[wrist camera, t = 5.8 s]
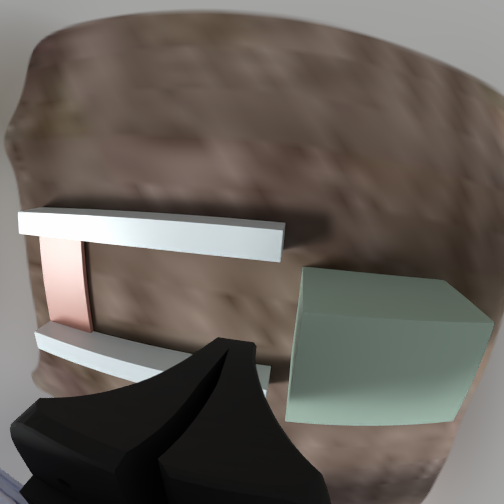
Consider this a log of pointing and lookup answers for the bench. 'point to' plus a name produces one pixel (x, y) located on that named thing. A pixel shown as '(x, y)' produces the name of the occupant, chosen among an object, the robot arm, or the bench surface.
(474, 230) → the bench surface
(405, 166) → the bench surface
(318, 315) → the block
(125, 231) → the channel
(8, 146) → the bench surface
